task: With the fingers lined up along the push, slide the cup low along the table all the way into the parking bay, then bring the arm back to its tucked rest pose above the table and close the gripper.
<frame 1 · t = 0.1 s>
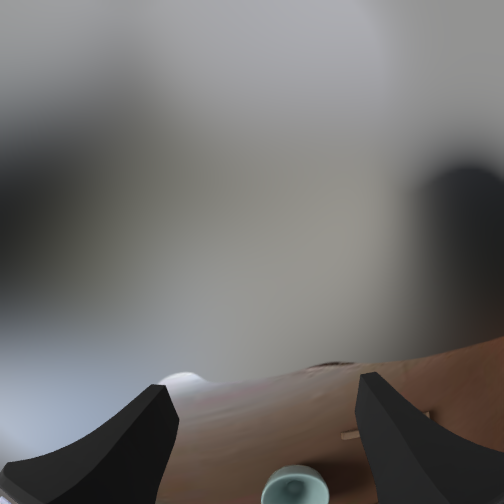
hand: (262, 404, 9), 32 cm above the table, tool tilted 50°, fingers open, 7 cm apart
cup: (294, 482, 29), on the table
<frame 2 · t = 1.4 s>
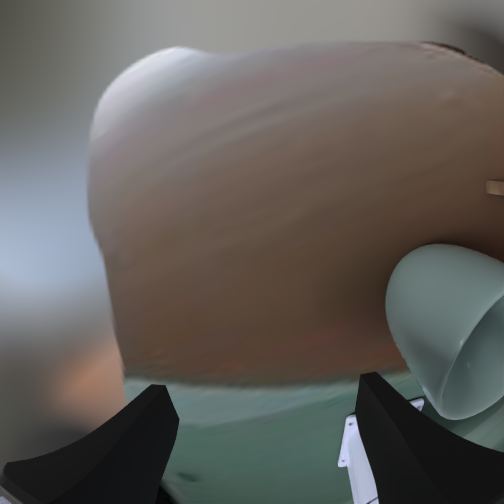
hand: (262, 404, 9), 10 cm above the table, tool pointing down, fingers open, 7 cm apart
cup: (416, 284, 17), on the table
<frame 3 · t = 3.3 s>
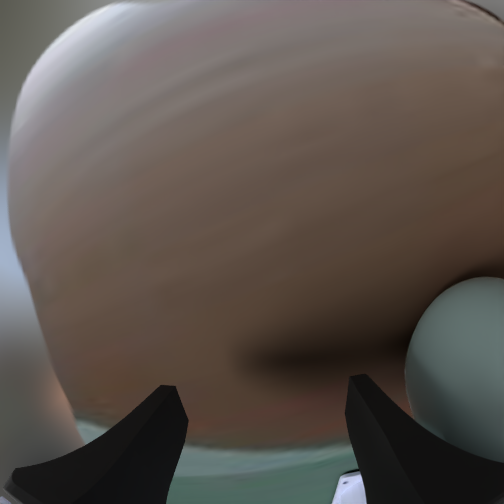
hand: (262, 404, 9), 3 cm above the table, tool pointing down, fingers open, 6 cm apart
cup: (446, 327, 11), on the table, touching gripper
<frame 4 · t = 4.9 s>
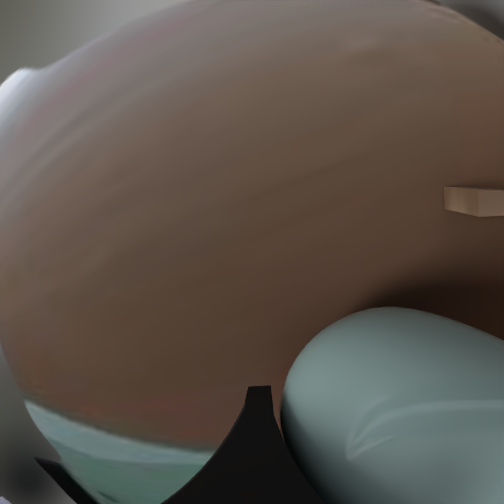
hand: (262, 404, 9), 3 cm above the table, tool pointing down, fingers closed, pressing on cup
parking bay: (503, 316, 11), on the table
cup: (334, 364, 11), point 1 cm above the table, touching gripper
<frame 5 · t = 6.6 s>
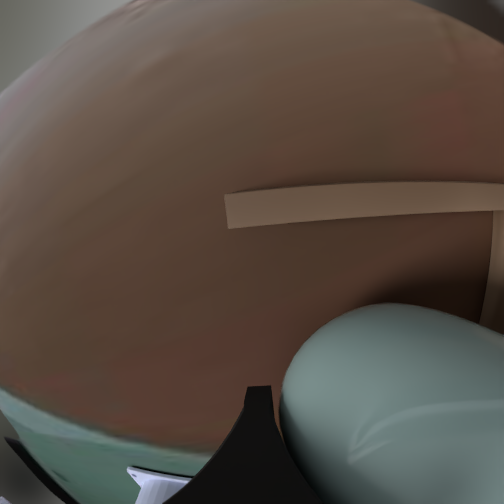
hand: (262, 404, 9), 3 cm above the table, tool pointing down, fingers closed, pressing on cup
parking bay: (381, 346, 12), on the table
cup: (334, 362, 11), point 1 cm above the table, touching gripper
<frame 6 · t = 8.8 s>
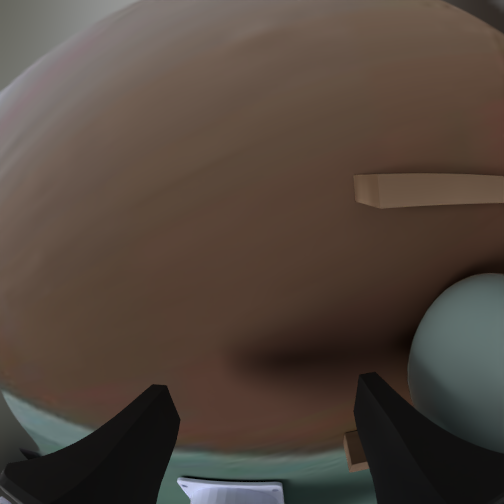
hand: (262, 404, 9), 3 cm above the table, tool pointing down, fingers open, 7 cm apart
parking bay: (458, 325, 11), on the table
cup: (447, 326, 11), on the table, touching gripper
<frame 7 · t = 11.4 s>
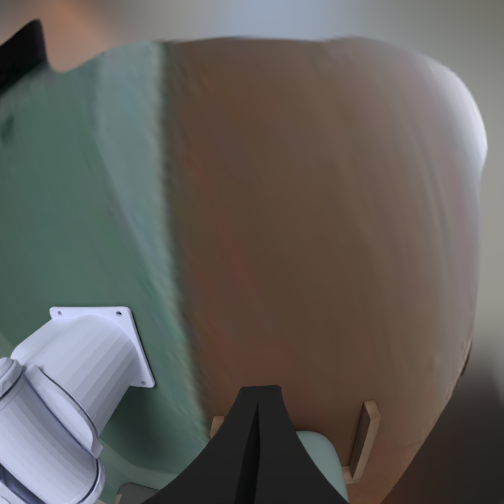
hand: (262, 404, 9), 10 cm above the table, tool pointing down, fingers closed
liquor: (150, 495, 30), on the table
parking bay: (296, 446, 23), on the table
cup: (297, 440, 23), on the table
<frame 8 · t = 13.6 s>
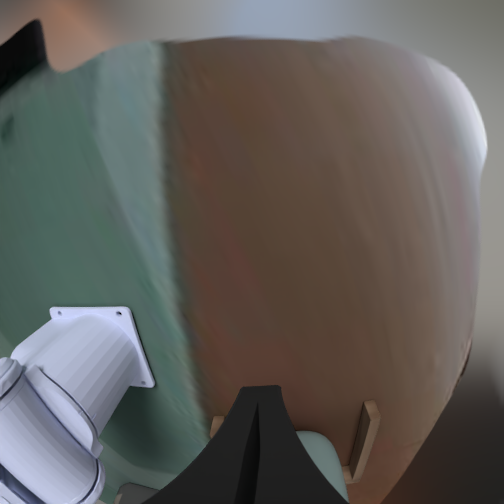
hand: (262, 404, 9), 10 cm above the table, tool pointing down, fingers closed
liquor: (150, 495, 30), on the table
parking bay: (296, 446, 23), on the table
cup: (297, 440, 23), on the table
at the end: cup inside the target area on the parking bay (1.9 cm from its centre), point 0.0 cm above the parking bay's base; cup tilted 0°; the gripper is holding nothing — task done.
